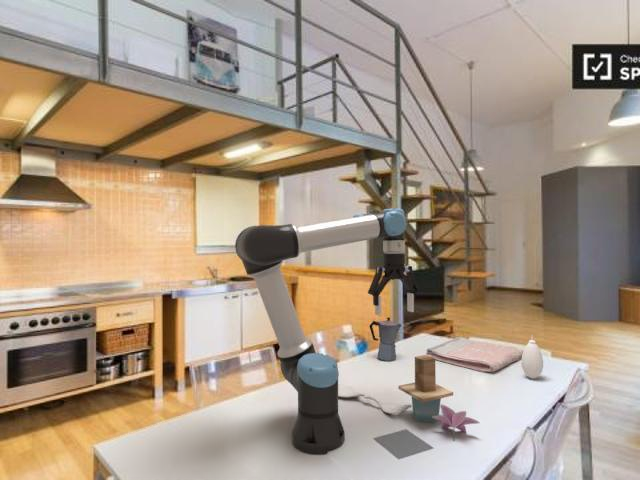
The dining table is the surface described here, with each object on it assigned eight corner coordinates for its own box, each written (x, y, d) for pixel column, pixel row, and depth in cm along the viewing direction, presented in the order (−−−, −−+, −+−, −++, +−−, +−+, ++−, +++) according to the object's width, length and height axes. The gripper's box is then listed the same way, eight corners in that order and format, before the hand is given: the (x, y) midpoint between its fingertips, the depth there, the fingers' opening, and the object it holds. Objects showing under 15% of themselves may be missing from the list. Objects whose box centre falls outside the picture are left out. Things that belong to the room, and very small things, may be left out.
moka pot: (404, 361, 184) (403, 319, 184) (371, 362, 184) (370, 319, 184) (400, 355, 193) (399, 315, 193) (368, 355, 193) (368, 315, 193)
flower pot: (441, 427, 120) (441, 398, 120) (411, 425, 122) (411, 396, 122) (438, 414, 128) (438, 387, 128) (411, 412, 130) (410, 385, 130)
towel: (459, 344, 214) (459, 334, 214) (525, 358, 189) (525, 346, 189) (423, 358, 190) (423, 347, 190) (493, 376, 165) (493, 363, 165)
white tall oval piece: (541, 383, 156) (541, 337, 156) (520, 378, 160) (519, 334, 160) (544, 377, 162) (544, 333, 162) (523, 373, 167) (523, 331, 166)
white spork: (396, 423, 123) (396, 412, 123) (324, 395, 146) (324, 385, 146) (412, 414, 130) (412, 403, 130) (341, 388, 153) (341, 379, 153)
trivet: (398, 461, 102) (398, 459, 102) (372, 440, 113) (372, 438, 113) (434, 449, 107) (434, 448, 107) (406, 430, 118) (406, 429, 118)
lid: (398, 388, 128) (398, 355, 128) (427, 382, 133) (427, 350, 133) (422, 402, 117) (422, 365, 117) (453, 395, 122) (453, 360, 122)
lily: (485, 446, 111) (481, 409, 116) (463, 442, 104) (460, 403, 109) (448, 444, 119) (445, 410, 124) (425, 441, 112) (423, 405, 117)
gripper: (369, 254, 129) (369, 318, 129) (429, 252, 139) (430, 311, 139) (357, 253, 136) (358, 314, 136) (416, 251, 146) (416, 308, 146)
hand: (394, 313), depth 138 cm, fingers open, 13 cm apart
